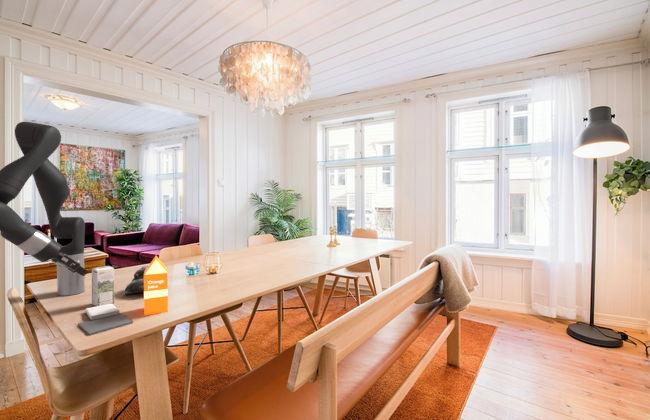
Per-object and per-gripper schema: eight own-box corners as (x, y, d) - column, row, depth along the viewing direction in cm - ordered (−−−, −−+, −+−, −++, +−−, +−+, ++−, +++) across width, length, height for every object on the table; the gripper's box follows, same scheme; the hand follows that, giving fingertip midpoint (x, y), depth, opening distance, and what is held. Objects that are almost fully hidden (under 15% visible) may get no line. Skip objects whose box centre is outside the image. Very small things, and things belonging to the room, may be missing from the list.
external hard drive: (90, 321, 102) (85, 312, 111) (119, 314, 108) (112, 306, 117) (90, 316, 102) (85, 308, 111) (119, 309, 108) (112, 302, 117)
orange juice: (143, 315, 109) (143, 260, 108) (144, 307, 117) (144, 255, 116) (168, 311, 113) (167, 258, 112) (167, 304, 121) (167, 254, 120)
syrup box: (108, 300, 124) (108, 265, 124) (114, 303, 121) (114, 267, 120) (92, 304, 119) (91, 267, 119) (97, 307, 116) (96, 270, 115)
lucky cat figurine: (116, 296, 129) (122, 264, 136) (141, 299, 140) (146, 269, 146) (142, 289, 125) (147, 257, 131) (166, 293, 135) (169, 263, 141)
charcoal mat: (77, 325, 100) (77, 323, 100) (119, 314, 110) (119, 312, 110) (89, 335, 93) (89, 333, 93) (133, 322, 102) (133, 321, 102)
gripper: (56, 238, 102) (97, 266, 112) (42, 235, 110) (82, 261, 120) (36, 257, 98) (80, 284, 108) (22, 252, 105) (65, 277, 115)
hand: (81, 272), depth 114 cm, fingers open, 8 cm apart
